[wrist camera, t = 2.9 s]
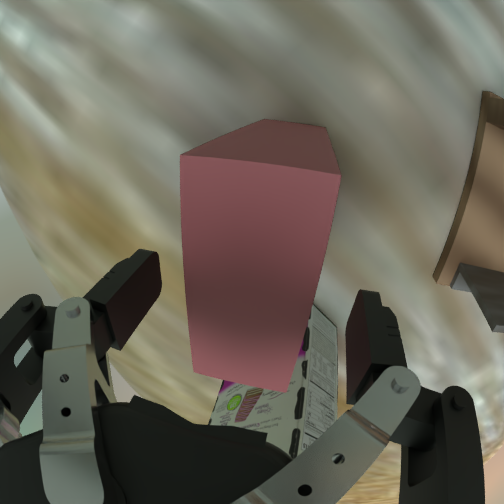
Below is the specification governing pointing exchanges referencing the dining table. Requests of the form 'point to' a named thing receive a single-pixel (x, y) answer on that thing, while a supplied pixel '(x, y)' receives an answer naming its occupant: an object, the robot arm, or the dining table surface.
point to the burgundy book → (255, 246)
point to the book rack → (480, 221)
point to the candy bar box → (290, 395)
